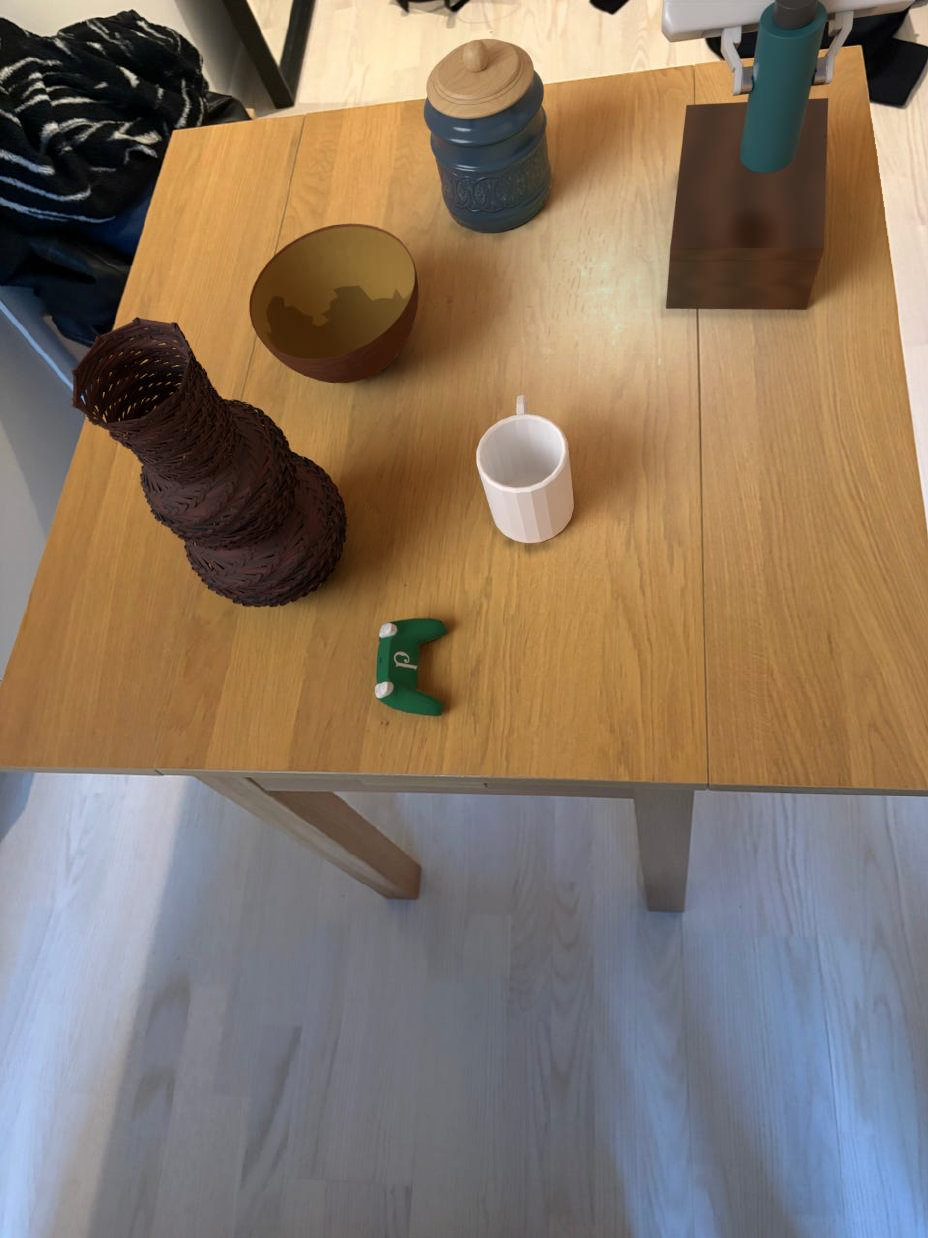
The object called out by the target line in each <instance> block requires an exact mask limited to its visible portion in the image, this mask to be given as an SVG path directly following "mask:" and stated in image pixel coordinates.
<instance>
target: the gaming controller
mask: <svg viewBox="0 0 928 1238" xmlns="http://www.w3.org/2000/svg"><path fill="white" fill-rule="evenodd" d="M447 633H448V628H447V627H446V624H445V622H444V621H443V620H441V619H438V618H433V617H421V618H420V617H413V618H405V619H404V618H403V619H399V620H393V621H389V622H385V623H384V624H383V625H381V627H380V629H379V633H378V642H379V643H378V647H377V654H376V655H377V656H376V669H375V671H376V673H375V677H376V679H375V680H376V683H375V685H374V686H375V687H374V691H375V698H376V699H377V700H378V701H379V702H380V703H382V704H384V705H386V706H387V707H389V708H391V709H393V710H396V711H400V712H403V713H407V714H413V715H419V716H429V717H441V716H442V713H443V709H444V707H445V704H444V703H443V702H442V701H440V699H438V698H436V697H434V696H432V695H431V694H428V693H426V692H423V691H421V690H418V678H419V660H420V659H419V658H420V645H422V644H424V643H427V642H431V641H434V640H437V639H439V638H442V637H444V636H445V635H446V634H447Z"/></svg>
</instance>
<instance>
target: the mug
mask: <svg viewBox="0 0 928 1238" xmlns="http://www.w3.org/2000/svg"><path fill="white" fill-rule="evenodd" d="M515 405H516V406H515V411H516V414H513V415H510V416H508V417H505V418H503V419H500V420H499V421H497V422H496V423H495V424H493V425H491V426H490V427H488V428H487V430H486V431H485V433H484V434H483V436H482V437H481V438H480V439H479V443H478V444H477V445H478V446H477V448H476V454H475V455H476V459H475V460H476V461H475V462H476V466H477V471H478V473H479V477H480V480H481V482H482V483H481V484H482V486H483V489H484V493H485V496H486V500H487V504H488V507H489V510H490V513H491V517H492V519H493V522H494V524H495V526H496V527H497V528H498V530H499V531H500V532H501V533H502V534H503V535H504V536H506V537H508V538H509V539H511V540H512V541H514V542H519V543H524V544H534V543H535V544H537V543H542V542H545V541H548V540H550V539H553V538H554V537H555V536H557V535H558V534H559V533H561V532H562V531H563V530H565V529H566V526H567V525H568V524H569V523H570V521H571V519H572V516H573V512H574V509H575V502H574V490H573V482H572V471H571V462H570V452H569V443H568V440H567V438H566V435H565V432H564V430H563V429H562V428H561V427H560V426H559V425H557V424H556V422H554V421H553V420H552V419H549V418H547V417H544V415H543V416H542V415H540V414H539V415H538V414H534V413H533V414H532V413H530V411H529V402H528V401H527V399H526V396H525V395H523V394H521V395H517V397H516V404H515Z"/></svg>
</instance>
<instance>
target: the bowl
mask: <svg viewBox="0 0 928 1238" xmlns="http://www.w3.org/2000/svg"><path fill="white" fill-rule="evenodd" d="M419 297H420V295H419V279H418V273H417V268H416V264H415V261H414V259H413V257H412V254H411V252H410V251H409V249H408V247H407V246H406V245H405V244H404V243H403V242H402V240H400V238H398V237H397V236H396V235H394V234H393V233H391V232H389V231H387V230H385V229H384V228H381V227H378V226H373V225H370V224H364V223H341V224H333V225H328V226H324V227H321V228H318V229H315V230H313V231H310V232H308V233H305V234H304V235H302V236H299V237H298V238H296V239H294V240H292V241H291V242H289V243H288V244H286V245H285V246H283V248H281V249H280V250H279V251H278V252H276V254H274V255H273V256H272V257H271V259H269V261H268V262H267V263H266V264H265V265H264V267H263V268H262V270H261V271H260V272H259V274H258V276H257V278H256V280H255V282H254V283H253V286H252V289H251V293H250V296H249V303H248V304H249V305H248V313H249V316H250V322H251V325H252V329H254V332H255V333H256V335H257V337H258V339H259V340H260V342H261V343H262V344H263V346H264V347H265V348H266V349H267V351H269V352H270V353H271V355H272V356H274V358H276V359H277V360H278V361H280V362H281V364H283V365H284V366H286V367H288V368H289V369H291V370H292V371H294V372H296V373H298V374H300V375H302V376H304V377H307V378H310V379H312V380H316V381H317V382H323V383H330V384H350V383H355V382H359V381H363V380H365V379H368V378H370V377H373V376H375V375H376V374H378V373H380V372H381V371H382V370H384V369H385V368H387V367H388V366H389V365H390V364H391V363H392V362H393V361H394V360H395V359H396V358H397V357H398V356H399V355H400V353H401V352H402V350H403V349H404V347H405V346H406V344H407V342H408V340H409V338H410V335H411V333H412V331H413V328H414V326H415V322H416V318H417V313H418V307H419Z"/></svg>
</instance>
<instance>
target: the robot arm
mask: <svg viewBox="0 0 928 1238" xmlns="http://www.w3.org/2000/svg"><path fill="white" fill-rule="evenodd" d="M818 1H819V2H821V3H822V4H823V5H824V7H825V8H826V11H827V19H826V23H827V22H828V33H827V35H828V37H834V38H833V40H832V41H831V43H830V45H829V48H828V49H827V51H826V52H825V55H824V56H820V57H818V59H817V64H816V68H815V72H814V77H813V81H812V86H811V87H820V86H827V85H830V84H831V83H832V82H833V79H834V74H835V73H834V71H835V60H836V57H837V56H838V54H839V52H840V50H841V49H842V46H843V45H844V43H845V41H846V40H847V38H848V37H849V35H850V33H851V32H852V29H853V23H854V19H856V18H863V17H864V18H865V17H871V16H872V17H873V16H878V15H879V16H880V15H886V14H894V13H901V12H903V11H905V10H906V9H908V8H909V7H910V6H911V5H912V4H913V3H915V1H916V0H818ZM774 2H775V0H662V7H661V9H662V10H661V22H660V25H661V26H660V27H661V28H660V31H661V33H662V35H663V36H664V37H665V40H667V41H668V42H669V43H679V42H687V41H694V40H701V39H709V38H717V37H721V39H720V53H721V54H722V56H723V58H724V60H725V63H726V64H727V66H728V68H729V70H730V72H731V73H732V87H731V89H732V91H731V93H732V97H736V96H744V95H749V94H750V93H751V92H752V88H753V81H752V79H751V78H752V77H753V65H751V66H749V65H748V66H744V64H743V61H742V59H741V57H740V55H739V53H738V51H737V49H738V48H739V45H741V41H742V34H746V33H752V32H758V30H759V23H760V17H761V15H762V13H763V11H764V10H765V9H766V8H767V7H768V6H769V5H770V4H772V3H774Z"/></svg>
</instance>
